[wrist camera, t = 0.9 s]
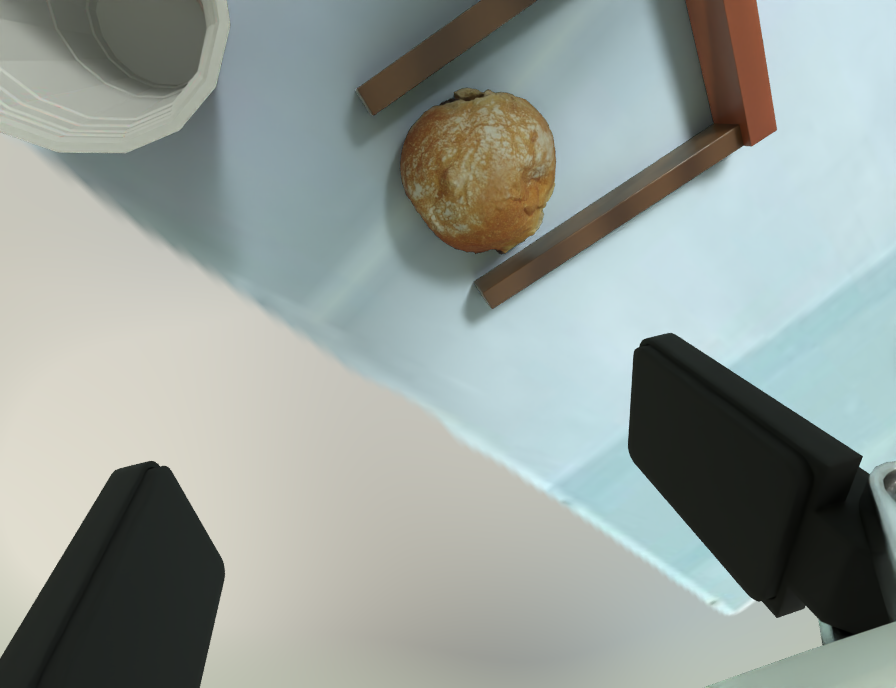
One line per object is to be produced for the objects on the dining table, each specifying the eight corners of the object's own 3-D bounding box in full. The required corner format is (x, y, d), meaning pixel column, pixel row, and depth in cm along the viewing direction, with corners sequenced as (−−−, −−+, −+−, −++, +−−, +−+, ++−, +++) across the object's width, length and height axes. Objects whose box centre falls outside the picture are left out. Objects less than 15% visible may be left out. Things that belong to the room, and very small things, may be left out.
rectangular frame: (686, -147, 26) (728, -176, 23) (741, 127, 34) (777, 129, 32) (354, 90, 28) (357, 88, 25) (482, 297, 36) (495, 313, 33)
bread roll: (506, 92, 33) (528, 23, 25) (568, 221, 34) (609, 195, 26) (383, 156, 33) (367, 108, 25) (448, 283, 34) (452, 276, 26)
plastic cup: (309, 65, 27) (294, 41, 16) (164, 174, 28) (64, 215, 17) (154, -167, 21) (-12, -421, 11) (-19, -24, 22) (-324, -135, 12)
